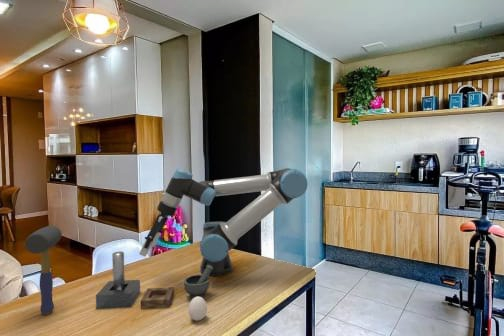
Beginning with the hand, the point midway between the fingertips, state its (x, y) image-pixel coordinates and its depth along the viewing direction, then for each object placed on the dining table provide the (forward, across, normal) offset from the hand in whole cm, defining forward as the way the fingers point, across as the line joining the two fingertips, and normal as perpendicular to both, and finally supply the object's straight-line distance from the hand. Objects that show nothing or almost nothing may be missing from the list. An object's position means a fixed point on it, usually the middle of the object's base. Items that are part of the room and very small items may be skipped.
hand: (146, 250), depth 124 cm
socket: (+18, +10, 0) cm, 20 cm away
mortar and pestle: (+4, +11, +27) cm, 30 cm away
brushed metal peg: (+16, +10, -1) cm, 19 cm away
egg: (+4, +27, +28) cm, 39 cm away
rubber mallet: (+28, +17, -20) cm, 38 cm away
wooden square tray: (+11, +13, +13) cm, 22 cm away
